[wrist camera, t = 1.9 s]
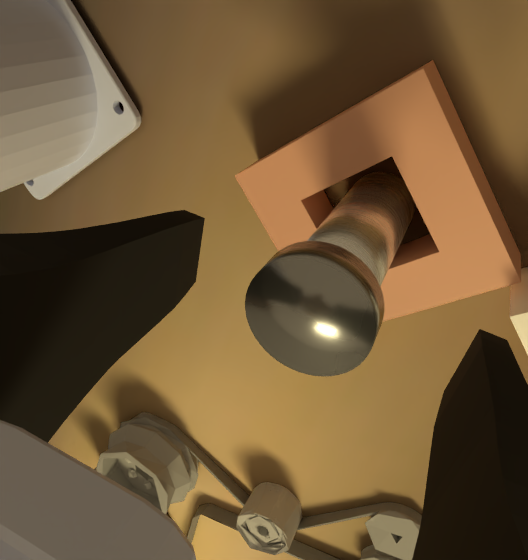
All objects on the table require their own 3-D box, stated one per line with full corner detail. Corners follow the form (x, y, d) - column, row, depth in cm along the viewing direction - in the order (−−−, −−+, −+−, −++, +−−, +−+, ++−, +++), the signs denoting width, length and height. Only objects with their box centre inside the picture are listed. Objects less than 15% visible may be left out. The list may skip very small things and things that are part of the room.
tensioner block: (257, 160, 19) (234, 175, 18) (433, 59, 15) (422, 68, 14) (342, 310, 21) (328, 337, 19) (520, 254, 17) (520, 282, 15)
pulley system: (39, 443, 39) (148, 587, 42) (-12, 487, 36) (111, 644, 38) (323, 328, 24) (471, 564, 26) (287, 383, 20) (463, 654, 23)
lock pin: (322, 183, 19) (221, 284, 12) (402, 143, 17) (332, 238, 11) (362, 256, 19) (285, 386, 13) (442, 226, 18) (399, 360, 11)
